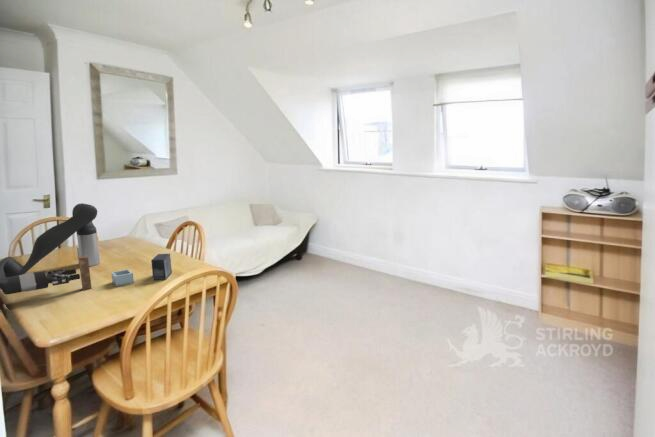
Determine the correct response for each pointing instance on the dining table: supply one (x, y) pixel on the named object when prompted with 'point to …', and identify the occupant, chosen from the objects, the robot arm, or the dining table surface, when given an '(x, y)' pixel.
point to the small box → (161, 266)
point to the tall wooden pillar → (85, 272)
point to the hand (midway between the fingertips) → (77, 273)
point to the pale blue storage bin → (122, 277)
